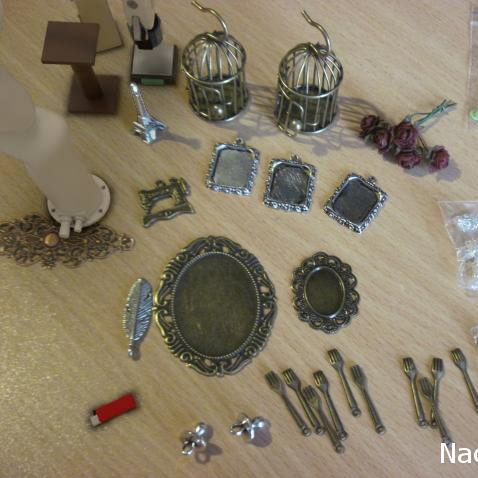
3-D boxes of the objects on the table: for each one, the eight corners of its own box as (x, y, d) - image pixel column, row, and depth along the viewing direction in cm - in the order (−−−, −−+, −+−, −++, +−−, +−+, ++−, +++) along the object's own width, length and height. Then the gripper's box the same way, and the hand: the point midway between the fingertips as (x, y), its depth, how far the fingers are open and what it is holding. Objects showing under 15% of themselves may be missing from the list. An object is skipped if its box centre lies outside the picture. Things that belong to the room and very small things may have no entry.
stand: (114, 114, 126) (93, 62, 110) (69, 112, 125) (40, 60, 109) (119, 78, 130) (98, 23, 113) (74, 76, 129) (47, 20, 112)
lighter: (135, 406, 103) (92, 426, 101) (136, 407, 104) (94, 426, 102) (130, 392, 104) (87, 412, 102) (131, 393, 105) (89, 412, 103)
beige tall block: (82, 29, 134) (52, -44, 114) (112, 21, 136) (88, -52, 116) (92, 54, 132) (63, -16, 112) (122, 45, 133) (99, -24, 114)
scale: (174, 86, 131) (173, 79, 128) (131, 85, 130) (129, 78, 127) (177, 49, 135) (176, 42, 132) (135, 48, 134) (133, 40, 131)
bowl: (162, 50, 123) (159, 36, 118) (130, 49, 122) (125, 34, 118) (164, 25, 125) (161, 10, 121) (133, 23, 124) (128, 8, 120)
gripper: (146, 6, 103) (161, 67, 120) (153, -63, 110) (167, 4, 126) (105, 4, 103) (126, 66, 119) (114, -65, 109) (133, 2, 125)
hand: (147, 34), depth 123 cm, fingers closed on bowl, 7 cm apart
